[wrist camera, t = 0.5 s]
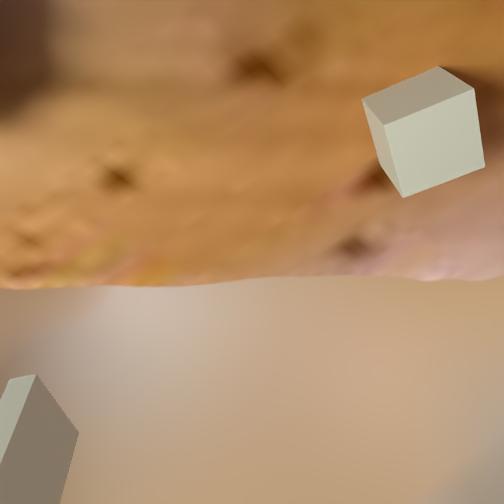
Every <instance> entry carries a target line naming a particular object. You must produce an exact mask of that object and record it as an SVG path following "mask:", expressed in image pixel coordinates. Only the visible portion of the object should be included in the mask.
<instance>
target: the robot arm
mask: <svg viewBox="0 0 504 504" xmlns="http://www.w3.org/2000/svg"><path fill="white" fill-rule="evenodd" d="M77 437H78V431H77V429H76V428H75V427H74V425H73V424H72V423H71V421H70V420H69V418H68V417H67V416H66V414H65V413H64V411H63V410H62V409H61V407H60V406H59V405H58V403H57V402H56V400H55V399H54V398H53V396H52V395H51V394H50V392H49V391H48V389H47V388H46V387H45V385H44V384H43V383H42V381H41V380H40V378H39V377H38V376H37V374H34V375H28V376H23V377H18V378H13V379H10V380H9V382H8V384H7V387H6V389H5V391H4V393H3V395H2V398H1V400H0V504H60V500H61V496H62V493H63V489H64V485H65V482H66V478H67V474H68V471H69V467H70V463H71V460H72V456H73V452H74V448H75V445H76V441H77Z"/></svg>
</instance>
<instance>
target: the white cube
mask: <svg viewBox="0 0 504 504" xmlns="http://www.w3.org/2000/svg"><path fill="white" fill-rule="evenodd" d="M362 102H363V106H364V109H365V113H366V116H367V120H368V124H369V127H370V131H371V134H372V138H373V141H374V145H375V148H376V152H377V155H378V159H379V162H380V165H381V167H382V168H383V170H384V171H385V172H386V174H387V175H388V177H389V178H390V180H391V181H392V183H393V184H394V186H395V187H396V189H397V190H398V192H399V193H400V194H401V196H402V197H403V198H405V197H408V196H410V195H413V194H415V193H418V192H421V191H423V190H426V189H429V188H431V187H434V186H436V185H439V184H442V183H444V182H447V181H450V180H452V179H455V178H458V177H460V176H463V175H465V174H468V173H471V172H473V171H476V170H479V169H481V168H484V167H485V162H484V155H483V148H482V141H481V134H480V127H479V120H478V113H477V106H476V99H475V92H474V88H473V87H471V86H469V85H468V84H466V83H465V82H463V81H462V80H460V79H458V78H457V77H455V76H454V75H452V74H450V73H449V72H447V71H446V70H444V69H443V68H441V67H439V66H437V67H435V68H433V69H430V70H428V71H426V72H423V73H421V74H419V75H416V76H414V77H412V78H409V79H407V80H404V81H402V82H400V83H397V84H395V85H393V86H390V87H388V88H386V89H383V90H381V91H379V92H376V93H374V94H372V95H369V96H367V97H364V98H362Z"/></svg>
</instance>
